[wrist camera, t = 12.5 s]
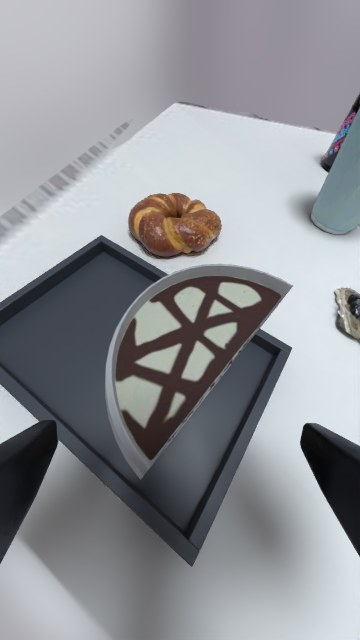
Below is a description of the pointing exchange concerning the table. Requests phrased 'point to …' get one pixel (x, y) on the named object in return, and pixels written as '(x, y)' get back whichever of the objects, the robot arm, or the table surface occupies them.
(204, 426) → the tray
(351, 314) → the crystal geode
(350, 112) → the supplement container
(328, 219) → the disposable coffee cup
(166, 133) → the table surface
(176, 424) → the food container
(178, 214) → the pretzel
